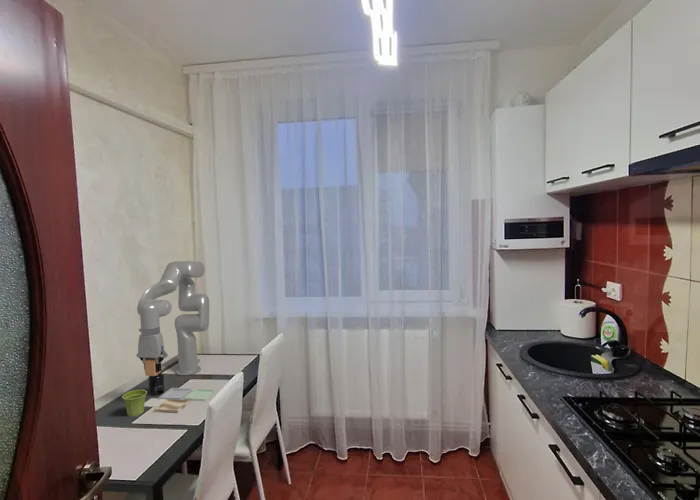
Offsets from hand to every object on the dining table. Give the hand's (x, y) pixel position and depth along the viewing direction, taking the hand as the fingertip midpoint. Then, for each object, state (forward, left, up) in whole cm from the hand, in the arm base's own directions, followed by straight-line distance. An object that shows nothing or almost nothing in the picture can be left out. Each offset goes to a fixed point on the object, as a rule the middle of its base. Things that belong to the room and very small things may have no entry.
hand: (152, 370), depth 182 cm
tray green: (-8, +17, -15) cm, 24 cm away
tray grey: (-8, +5, -15) cm, 18 cm away
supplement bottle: (-10, -5, -15) cm, 19 cm away
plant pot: (+10, -2, -15) cm, 18 cm away
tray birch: (+4, +11, -15) cm, 19 cm away
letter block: (0, 0, -1) cm, 1 cm away
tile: (0, 0, -15) cm, 15 cm away
